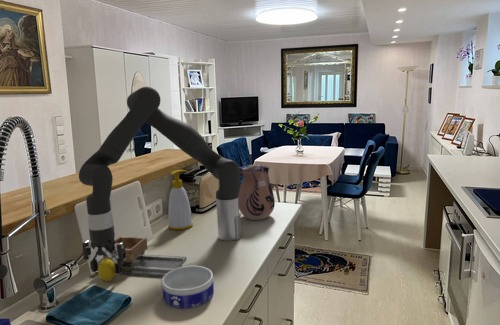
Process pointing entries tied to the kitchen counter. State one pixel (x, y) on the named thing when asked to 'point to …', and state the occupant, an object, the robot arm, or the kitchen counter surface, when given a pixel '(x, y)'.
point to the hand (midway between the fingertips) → (106, 271)
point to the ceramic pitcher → (255, 192)
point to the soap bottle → (179, 205)
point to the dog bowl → (188, 286)
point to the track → (151, 265)
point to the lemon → (106, 269)
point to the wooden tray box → (132, 248)
